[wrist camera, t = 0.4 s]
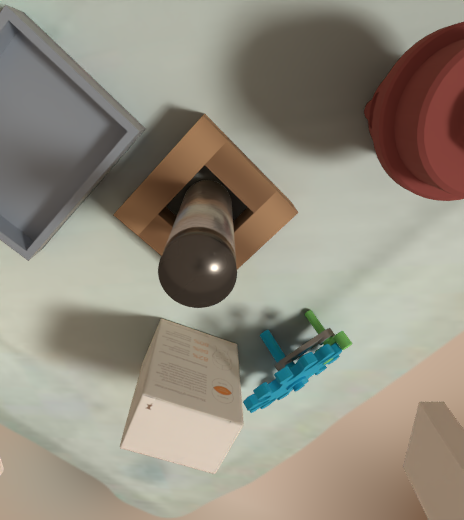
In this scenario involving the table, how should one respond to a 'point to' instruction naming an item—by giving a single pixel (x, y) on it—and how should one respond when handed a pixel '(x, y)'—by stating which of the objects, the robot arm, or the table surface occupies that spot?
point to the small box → (186, 399)
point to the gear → (297, 364)
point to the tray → (50, 134)
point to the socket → (224, 168)
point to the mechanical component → (423, 117)
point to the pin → (200, 248)
